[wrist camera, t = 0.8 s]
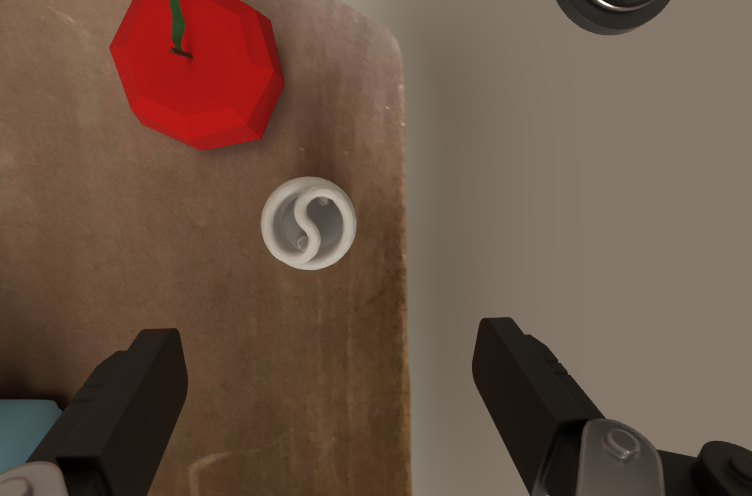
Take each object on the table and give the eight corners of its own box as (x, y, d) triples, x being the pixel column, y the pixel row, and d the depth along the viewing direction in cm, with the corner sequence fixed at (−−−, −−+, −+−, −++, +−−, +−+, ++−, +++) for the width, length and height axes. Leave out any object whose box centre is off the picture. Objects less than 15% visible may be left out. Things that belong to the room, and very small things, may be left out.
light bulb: (341, 259, 34) (342, 288, 22) (277, 241, 33) (241, 261, 21) (360, 196, 33) (371, 190, 21) (295, 176, 32) (269, 158, 21)
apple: (286, 166, 32) (262, 147, 22) (151, 150, 31) (63, 123, 21) (297, 32, 31) (278, -50, 21) (159, 11, 30) (70, -85, 20)
